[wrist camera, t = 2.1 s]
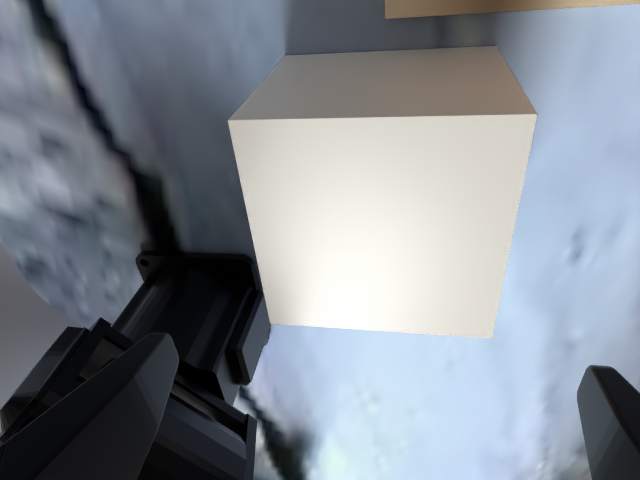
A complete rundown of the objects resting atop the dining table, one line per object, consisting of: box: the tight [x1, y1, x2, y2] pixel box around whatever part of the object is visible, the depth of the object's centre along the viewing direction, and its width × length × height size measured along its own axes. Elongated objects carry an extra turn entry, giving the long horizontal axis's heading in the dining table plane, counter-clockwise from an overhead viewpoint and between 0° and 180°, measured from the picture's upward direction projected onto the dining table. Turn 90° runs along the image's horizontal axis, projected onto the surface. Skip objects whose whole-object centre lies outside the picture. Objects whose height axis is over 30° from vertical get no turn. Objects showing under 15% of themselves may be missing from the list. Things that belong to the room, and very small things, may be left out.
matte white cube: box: [228, 46, 537, 338], centre depth 16 cm, size 8×8×7 cm
